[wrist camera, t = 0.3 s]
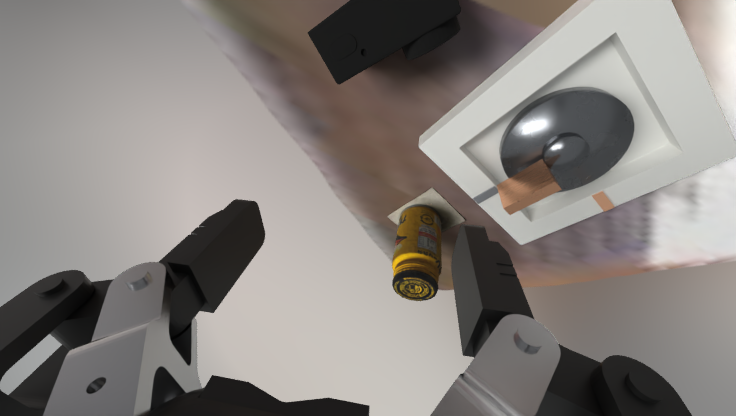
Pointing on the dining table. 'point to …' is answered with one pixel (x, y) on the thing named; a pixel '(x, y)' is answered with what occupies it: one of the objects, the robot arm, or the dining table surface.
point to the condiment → (420, 244)
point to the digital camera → (382, 32)
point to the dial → (562, 144)
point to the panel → (598, 70)
